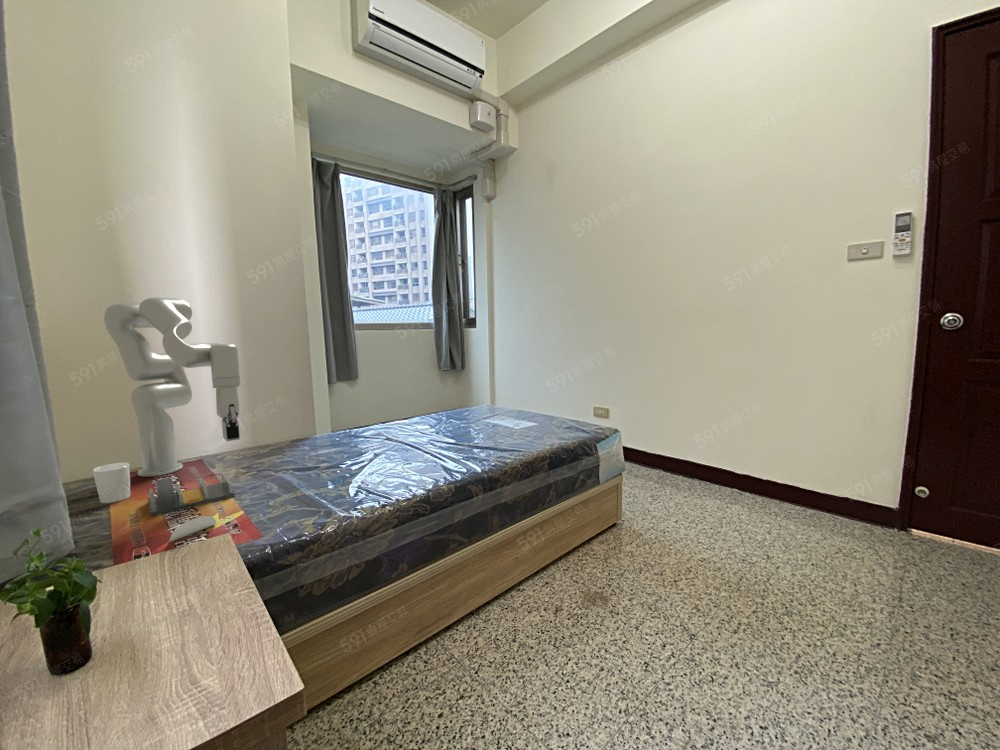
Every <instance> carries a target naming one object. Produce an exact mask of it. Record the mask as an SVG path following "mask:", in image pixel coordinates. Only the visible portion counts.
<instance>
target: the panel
mask: <svg viewBox="0 0 1000 750" xmlns="http://www.w3.org/2000/svg"><path fill="white" fill-rule="evenodd" d="M230 420H231V419H229V421H230ZM237 422H238V428H239V429H240V427H239V426H240V425H239V420H237ZM229 423H230V422H229ZM226 427H228V426H227V420H222V419H221V428H222V437H223V439H224V440H225V441H226V442H232V441H236V440H237V441H238V440H241V437H240V434H239V438H234V439H227V429H226Z"/></svg>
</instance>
